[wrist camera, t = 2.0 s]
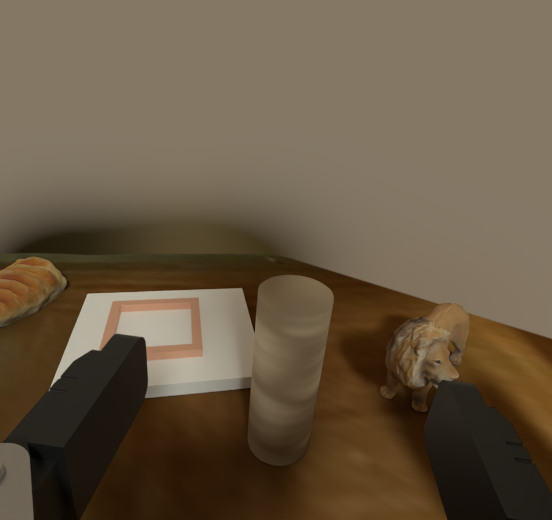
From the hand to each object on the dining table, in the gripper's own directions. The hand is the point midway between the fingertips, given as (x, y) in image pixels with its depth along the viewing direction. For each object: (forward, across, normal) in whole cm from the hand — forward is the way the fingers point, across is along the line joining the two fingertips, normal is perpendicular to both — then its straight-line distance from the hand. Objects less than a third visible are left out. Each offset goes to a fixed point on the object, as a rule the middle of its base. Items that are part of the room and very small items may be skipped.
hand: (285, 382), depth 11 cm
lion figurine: (+19, -12, +16) cm, 27 cm away
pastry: (+24, +27, +16) cm, 40 cm away
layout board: (+20, +11, +16) cm, 28 cm away
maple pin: (+12, 0, +16) cm, 19 cm away
